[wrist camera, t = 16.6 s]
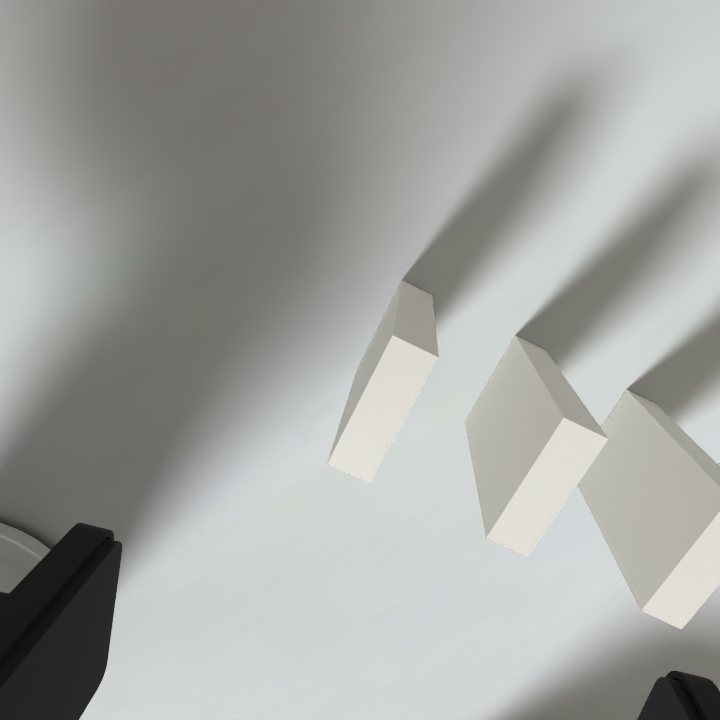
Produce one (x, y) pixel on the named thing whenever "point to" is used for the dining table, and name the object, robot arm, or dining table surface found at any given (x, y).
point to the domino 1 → (386, 383)
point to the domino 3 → (657, 509)
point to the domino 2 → (528, 446)
